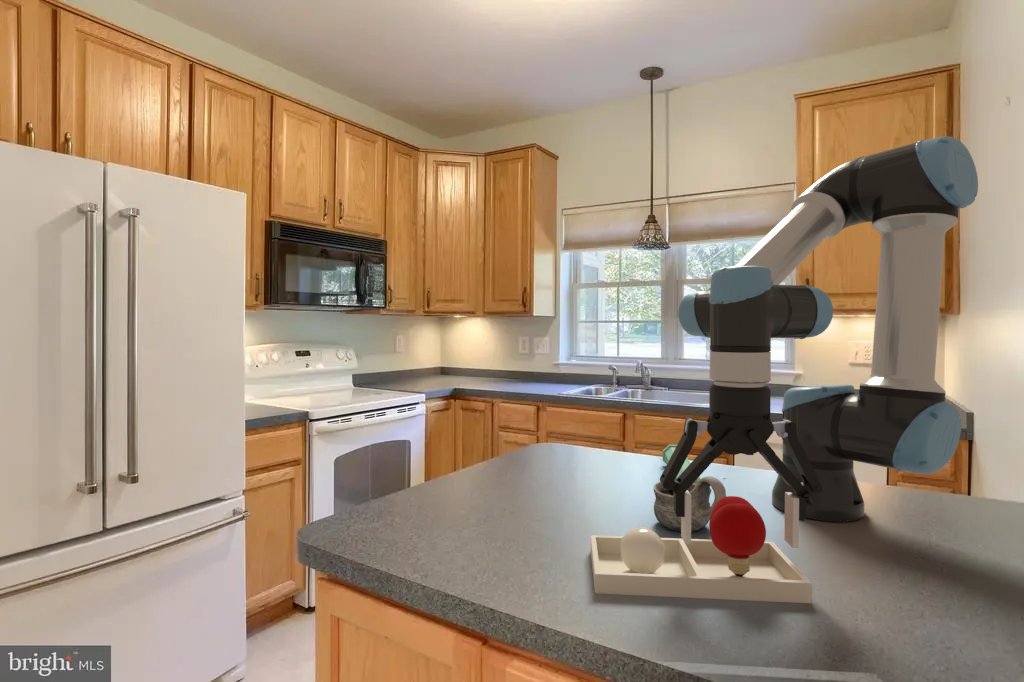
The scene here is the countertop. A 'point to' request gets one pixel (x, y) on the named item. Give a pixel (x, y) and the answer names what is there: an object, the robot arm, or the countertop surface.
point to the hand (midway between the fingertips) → (738, 542)
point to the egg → (642, 550)
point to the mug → (698, 503)
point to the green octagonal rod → (667, 455)
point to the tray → (700, 573)
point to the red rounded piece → (737, 532)
